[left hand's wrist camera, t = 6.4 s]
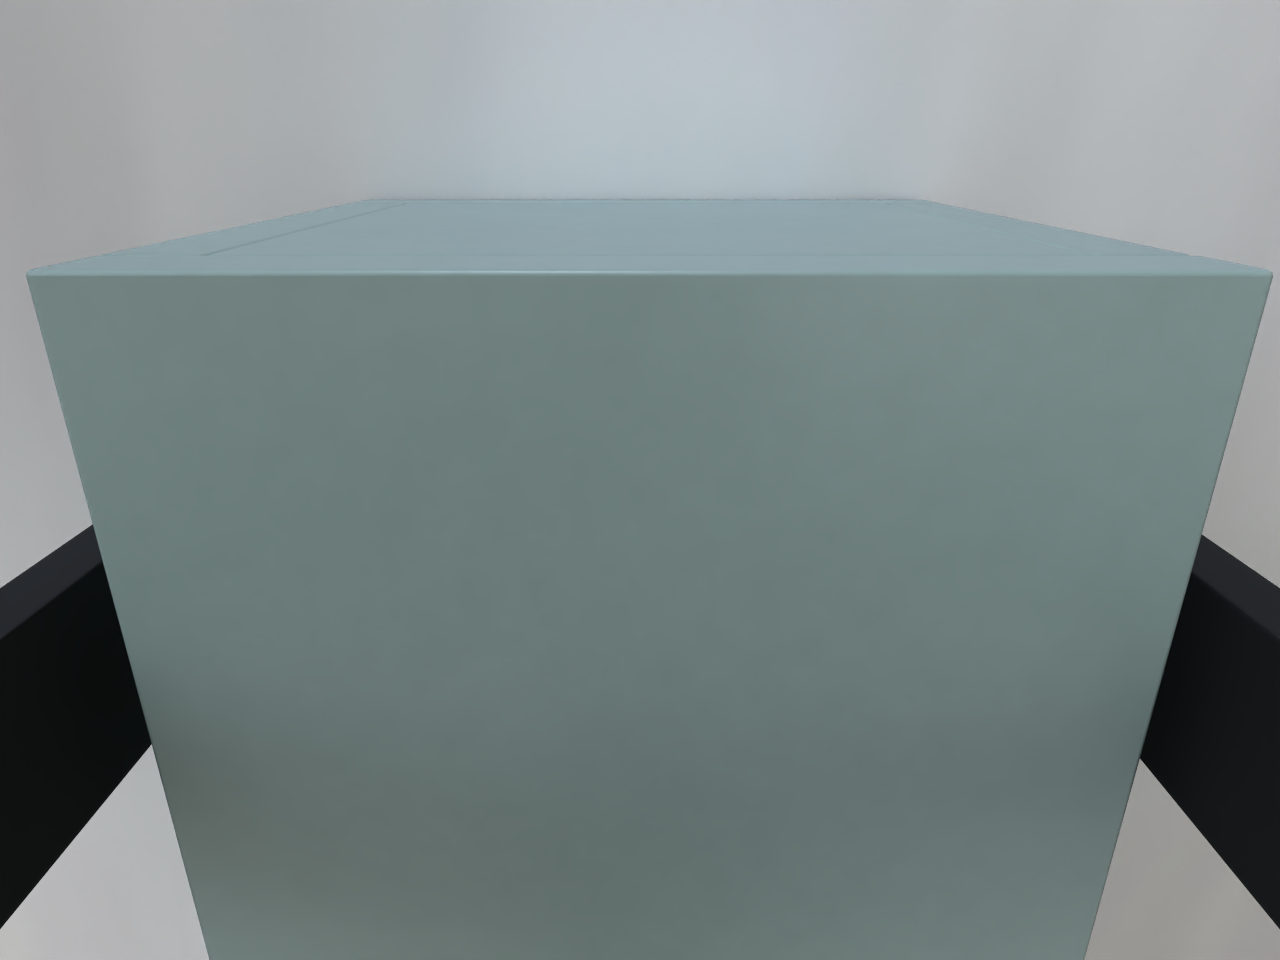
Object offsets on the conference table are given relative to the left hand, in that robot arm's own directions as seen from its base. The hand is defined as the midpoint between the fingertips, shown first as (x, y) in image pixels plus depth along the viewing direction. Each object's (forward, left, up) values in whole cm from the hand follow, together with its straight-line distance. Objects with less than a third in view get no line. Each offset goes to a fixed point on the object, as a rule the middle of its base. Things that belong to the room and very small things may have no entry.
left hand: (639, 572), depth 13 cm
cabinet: (+4, -3, -6) cm, 8 cm away
